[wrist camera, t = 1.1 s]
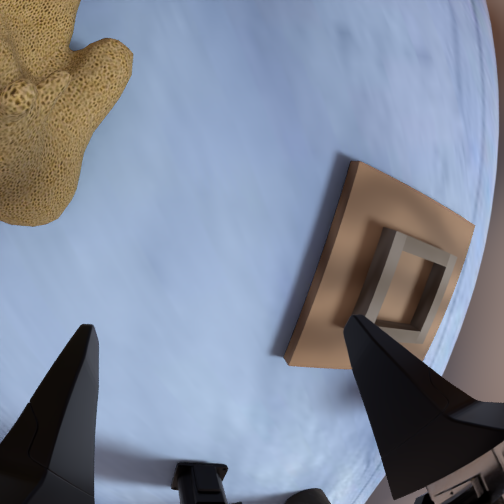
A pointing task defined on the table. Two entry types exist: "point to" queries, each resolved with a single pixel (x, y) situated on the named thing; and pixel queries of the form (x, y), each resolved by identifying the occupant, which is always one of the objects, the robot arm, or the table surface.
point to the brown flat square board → (381, 269)
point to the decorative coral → (49, 105)
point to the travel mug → (309, 497)
